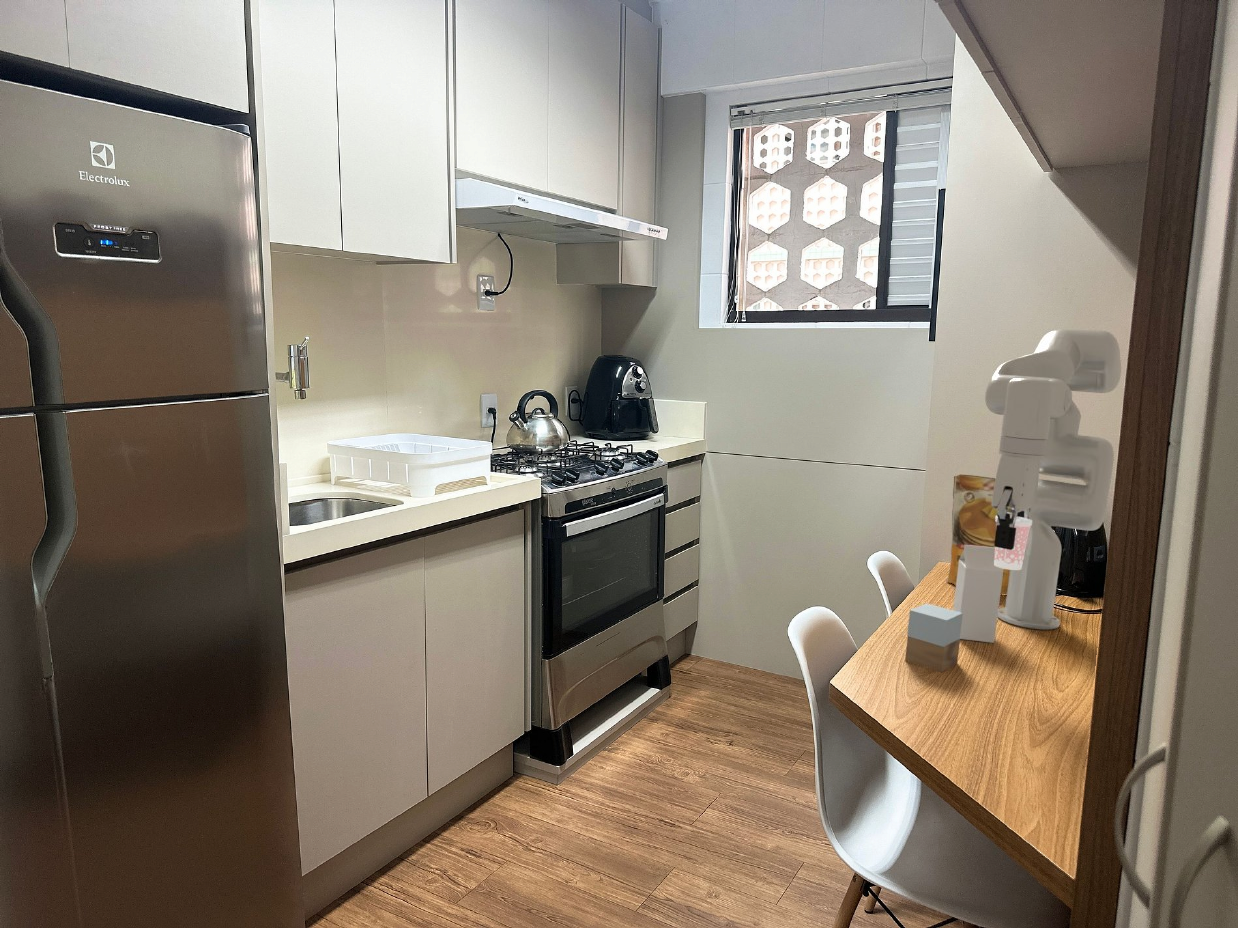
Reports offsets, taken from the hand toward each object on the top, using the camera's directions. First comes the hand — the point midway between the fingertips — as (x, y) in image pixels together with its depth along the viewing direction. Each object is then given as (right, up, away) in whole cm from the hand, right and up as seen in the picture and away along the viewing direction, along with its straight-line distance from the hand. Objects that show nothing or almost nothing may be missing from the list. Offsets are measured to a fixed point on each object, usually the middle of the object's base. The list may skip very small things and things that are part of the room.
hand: (1010, 544), depth 152 cm
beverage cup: (0, -4, +1) cm, 4 cm away
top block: (-12, -18, +4) cm, 22 cm away
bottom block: (-13, -23, +5) cm, 26 cm away
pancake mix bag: (+20, -17, +58) cm, 64 cm away
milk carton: (+2, -21, +21) cm, 30 cm away
